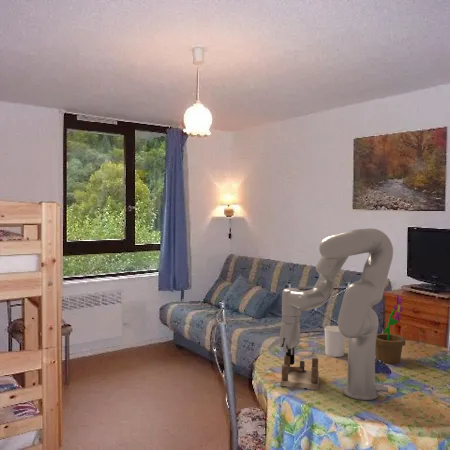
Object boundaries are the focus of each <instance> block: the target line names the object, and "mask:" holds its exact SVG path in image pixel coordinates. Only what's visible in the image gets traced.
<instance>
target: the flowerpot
mask: <svg viewBox="0 0 450 450" xmlns="http://www.w3.org/2000/svg"><path fill="white" fill-rule="evenodd" d="M402 303H403V296H402V295H401V296H400V295H399V294H397V295H396V304H394V305H393V310H392V311H391V313H390V314H389V319H388V323H387V327H385V328H384V331H383V332H384V333H383V332H382V333H378V332H377V337H376V352H375V359H376V358H378V359H380V360H382V361H383V362H384V363H383V364H387V365H398V364H401V357H402V352H403V346H406V337H404V336H401V335H398V334H394V333H391V326H395V325H396V324H397V323H400V322H401V318H402V317H401V316H402V315H401V313H403V311H404V307H403V306H402ZM393 315H394V317H393Z"/></svg>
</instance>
